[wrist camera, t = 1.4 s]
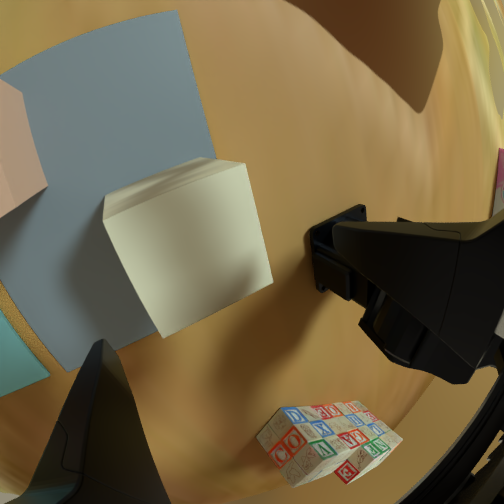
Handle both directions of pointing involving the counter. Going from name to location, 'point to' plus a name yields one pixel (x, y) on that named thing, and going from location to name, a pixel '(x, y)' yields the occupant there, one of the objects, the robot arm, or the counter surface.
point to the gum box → (499, 185)
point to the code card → (95, 175)
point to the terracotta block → (16, 152)
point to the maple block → (189, 240)
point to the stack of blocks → (326, 441)
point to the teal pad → (16, 361)
